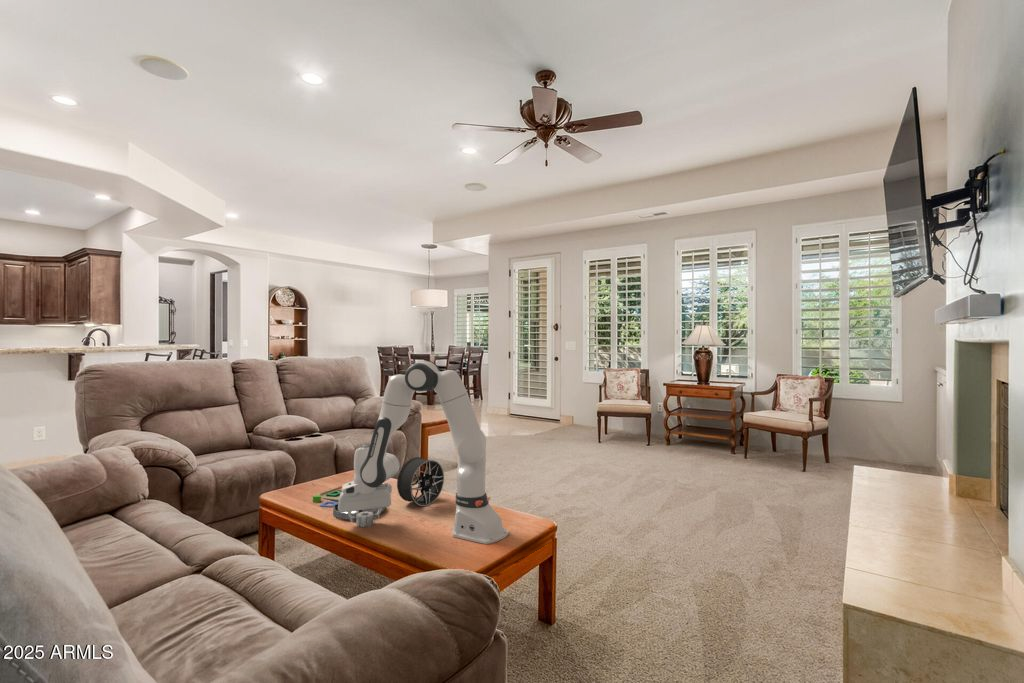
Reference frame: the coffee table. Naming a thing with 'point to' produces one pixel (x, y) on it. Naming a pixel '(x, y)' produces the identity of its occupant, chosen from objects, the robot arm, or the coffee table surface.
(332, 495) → the shape sorter
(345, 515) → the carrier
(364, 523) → the planet gear
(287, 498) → the coffee table surface
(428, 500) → the wheel rim
